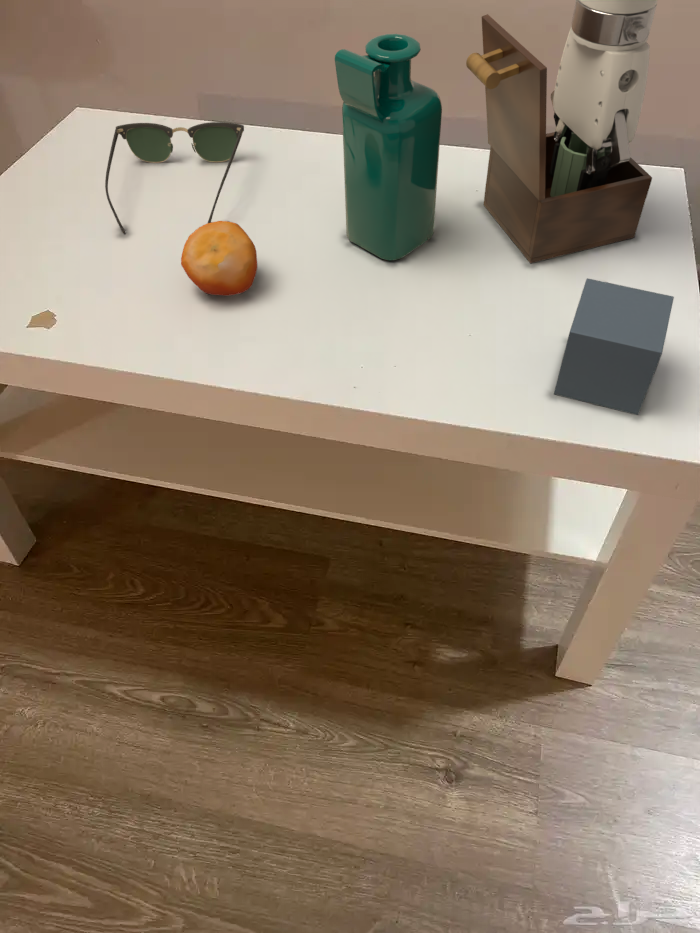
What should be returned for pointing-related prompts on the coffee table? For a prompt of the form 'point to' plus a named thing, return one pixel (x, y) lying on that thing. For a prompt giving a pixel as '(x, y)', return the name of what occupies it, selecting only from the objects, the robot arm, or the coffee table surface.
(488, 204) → the chest
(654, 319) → the slate grey cube
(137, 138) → the sunglasses
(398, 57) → the green bottle
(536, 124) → the lid
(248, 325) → the coffee table surface
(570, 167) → the cup
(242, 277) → the fruit
